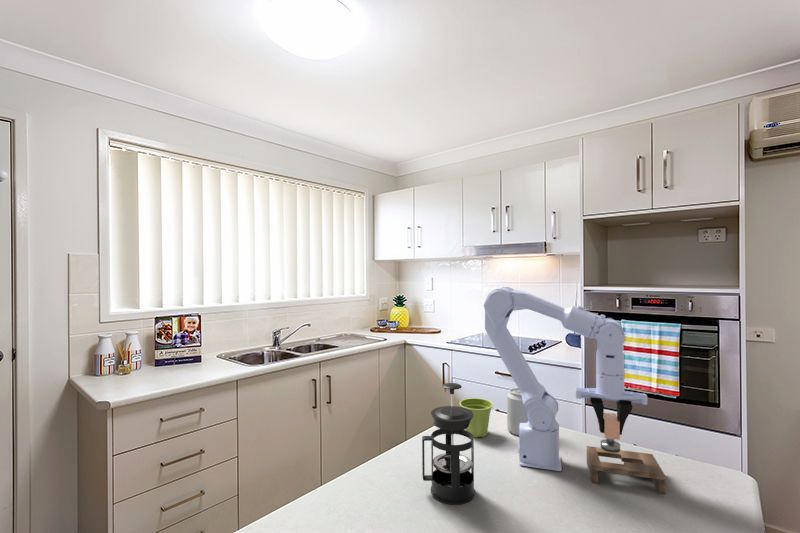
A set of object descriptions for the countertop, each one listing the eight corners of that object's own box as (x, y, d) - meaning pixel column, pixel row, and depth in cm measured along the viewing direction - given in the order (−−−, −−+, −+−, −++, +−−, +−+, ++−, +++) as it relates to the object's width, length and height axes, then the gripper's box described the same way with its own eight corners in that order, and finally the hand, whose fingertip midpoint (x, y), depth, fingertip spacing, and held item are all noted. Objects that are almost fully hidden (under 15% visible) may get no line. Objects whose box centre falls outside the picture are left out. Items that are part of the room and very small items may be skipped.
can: (535, 438, 113) (535, 395, 113) (507, 436, 114) (507, 393, 114) (532, 427, 120) (532, 387, 120) (506, 425, 122) (506, 385, 122)
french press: (473, 480, 91) (472, 377, 91) (482, 504, 82) (481, 390, 82) (421, 480, 91) (420, 378, 91) (424, 505, 82) (423, 391, 82)
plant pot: (485, 443, 110) (485, 411, 110) (454, 435, 115) (454, 405, 115) (497, 431, 118) (497, 401, 118) (467, 424, 123) (467, 396, 123)
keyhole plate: (591, 483, 89) (591, 465, 89) (586, 462, 99) (586, 445, 99) (665, 494, 85) (665, 475, 85) (652, 471, 94) (652, 454, 94)
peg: (602, 451, 91) (602, 420, 91) (599, 442, 96) (598, 412, 96) (622, 454, 90) (622, 422, 90) (618, 444, 95) (617, 414, 95)
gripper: (641, 370, 94) (642, 429, 94) (574, 366, 99) (574, 421, 99) (649, 378, 88) (650, 441, 88) (576, 373, 92) (577, 433, 92)
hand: (610, 432), depth 93 cm, fingers closed on peg, 3 cm apart
